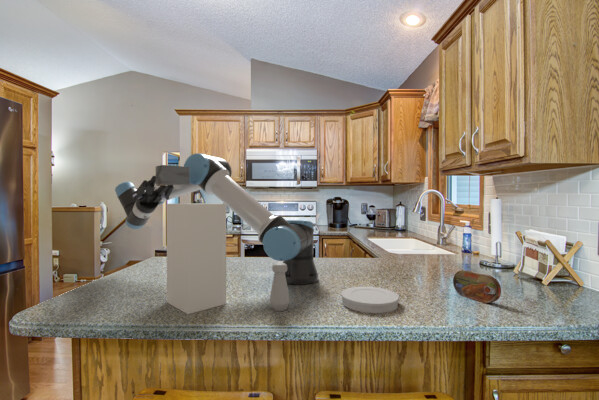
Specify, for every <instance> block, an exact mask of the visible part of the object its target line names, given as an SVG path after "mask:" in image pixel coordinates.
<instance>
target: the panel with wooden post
mask: <svg viewBox="0 0 599 400" xmlns="http://www.w3.org/2000/svg"><path fill="white" fill-rule="evenodd" d="M155 175H156V184H157V186H165V185H189V167H184V166H181V165H180V166H178V165H165V164H164V165H163V164H161V165H155Z"/></svg>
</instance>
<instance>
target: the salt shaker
mask: <svg viewBox="0 0 599 400" xmlns="http://www.w3.org/2000/svg"><path fill="white" fill-rule="evenodd" d="M271 269H272V272H273V279H272V285H271V291H270V296H269V304H270V306H271V309H272V310H273V311H275V312H283V311H286V310H287V309H288V307H289V304H290V302H291V299H290V294H289V293H290V292H289V289H288V288H289V287H288V284H287V282H286V276H285V272H286V271H287V265H286V264H285V263H283V262H276V263H274V264H272V267H271Z"/></svg>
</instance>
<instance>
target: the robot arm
mask: <svg viewBox="0 0 599 400" xmlns="http://www.w3.org/2000/svg"><path fill="white" fill-rule="evenodd" d="M183 167H189V185H165V186H157V184H156V174H155V175H152V177H151V178H150V179H149V180H146V179H145V180H143V181H142V182H141V183H140V185H139V186H138V187H136V186H135V184H134V183H133V182H131V181H123V182H121V183H118V185H116V186H115V189H114V191H115V194H116V197H117V198H118V201H119V202H120V204H121V206H122V209H123V211H124V214H125V215H126V218H125V225H126V226H127V227H128V228H130V229H132V230H139V229H140V230H141V229H142V228H143V227H144V226H145V225H146V224H147V223H148V221H149V219H150V217H151V216H152V214H153V213H154V212H155V210H156V209H157V208H158V206H159V205H160V206H161V205H163V204H164V203H165V202H166V201H169V200H174V199H175V198H179V197H181V196H184V195H185V196H186V195H188V194H190V193H191V194H192V193H194V192H197V191H200V190H203V191H204V192H205V193H206V194H208V195H215V196H216V197H217V198H218V199H219V200H220V201H221V202H222V204H226V207H228V208H229V209H230V210H231V211H233V213H234V214H235V215H237V216H238V217H239V218H240V219H241V220H242V221H243V222H244V223H246V224H247V225H248V226H249V227H250V228H251V229H252V230H253V231H254V232H255V233H256V234H258V235H257V236H258V241H259V242H260V243H261V244H262V245H263V250H264V252H265V253H266V254H265V255H267V256H268V257H269V258H271V260H274V261H278V262H282V263H285V264H286V265H287V271H286V272H285V276H286V282H287V285H309V284H312V283H317V281H318V280H319V274H318V273H319V272H318V271H317V267H316V265H315V261H314V232H315V229H314V223H313V222H312V221H310V220H298V219H297V220H296V219H285V218H284V217H283V216H282V215H274V214H273V213H271V211H269V210H268V209H267V208H266V207H265V206H264V205H263V204H261V202H259V201H258V200H257V199H255V197H253V196H252V195H251V194H250V193H249V192H247V191H246V190H245V189H244V188H243V187H242V186H240V185H239V184H238V182H236V181H235V180H233V178H232V173H233V171H232V167H231V165H230V163H229V162H228V161H227V160H226V159H224V158H222V157H219V156H218V157H217V156H212V155H208V154H205V153H193V154H190V155H189V156H188V157H187V158H186V160H185V161H184V164H183Z"/></svg>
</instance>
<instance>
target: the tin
mask: <svg viewBox="0 0 599 400" xmlns="http://www.w3.org/2000/svg"><path fill="white" fill-rule="evenodd" d="M452 285H453V287H454V289H455V291H456V293H458V295H459V296H462V297H464V298H467V299H471V300H473V301H477V302H479V303H484V304H490V303H494V302H497V301H498V300H499V299H500V298H501V296H502V295H501V294H502V287H501V284H500V282H499V281H498V280H497V279H496V278H495V277H494V276H492V275H489V274H485V273H480V272H476V271H471V270H462V269H461V270H459V271H457V272H455V274H454V275H453V280H452Z"/></svg>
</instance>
